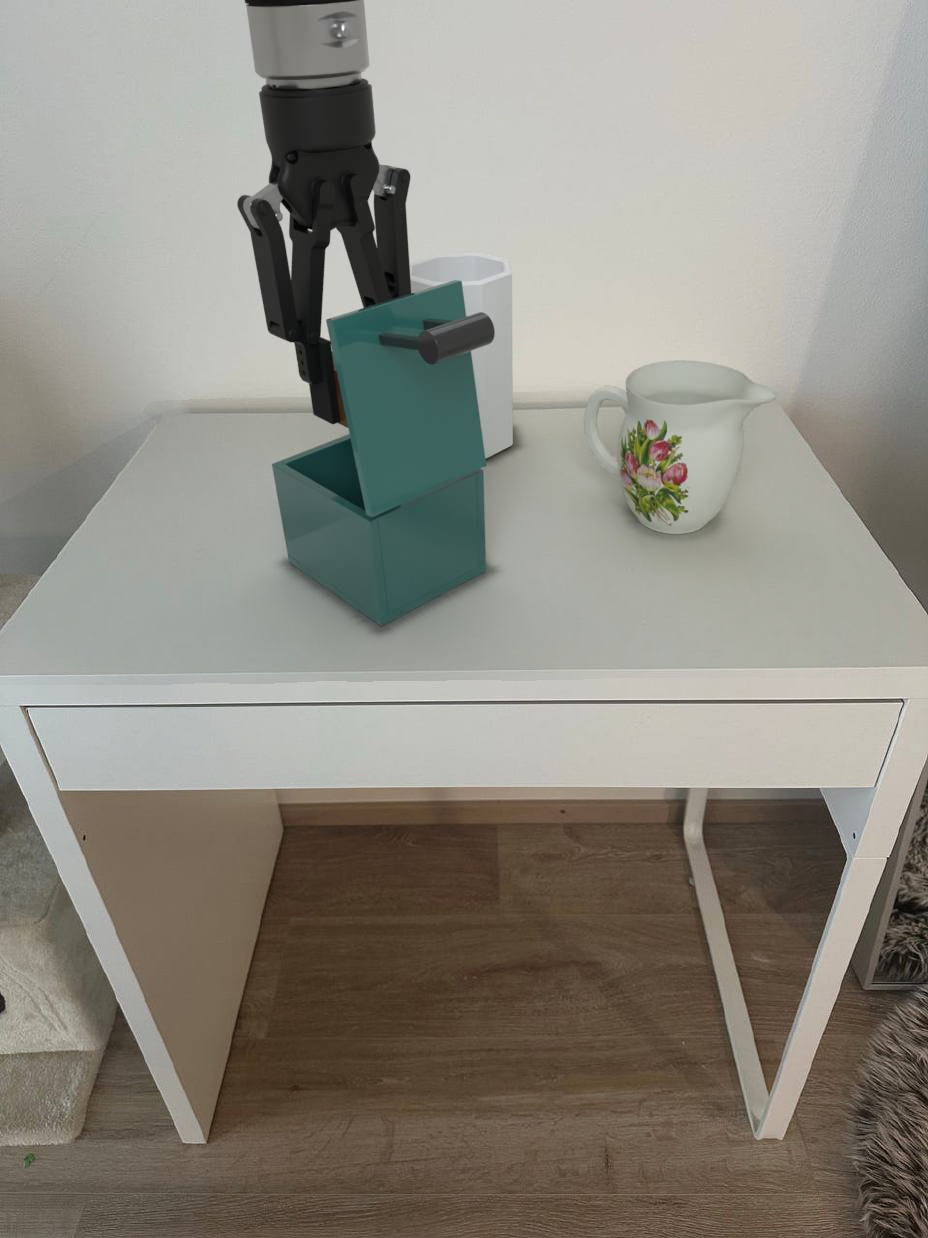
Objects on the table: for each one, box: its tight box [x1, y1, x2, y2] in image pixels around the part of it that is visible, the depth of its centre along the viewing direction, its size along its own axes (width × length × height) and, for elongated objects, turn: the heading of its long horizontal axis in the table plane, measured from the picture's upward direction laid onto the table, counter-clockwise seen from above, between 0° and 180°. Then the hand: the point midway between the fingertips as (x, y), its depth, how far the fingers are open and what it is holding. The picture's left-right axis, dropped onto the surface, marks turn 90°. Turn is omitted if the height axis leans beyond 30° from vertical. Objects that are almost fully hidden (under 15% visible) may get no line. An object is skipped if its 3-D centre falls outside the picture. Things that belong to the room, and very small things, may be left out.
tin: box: [271, 433, 487, 627], centre depth 80 cm, size 14×12×10 cm
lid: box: [325, 280, 495, 517], centre depth 67 cm, size 14×12×8 cm
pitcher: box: [583, 359, 779, 535], centre depth 84 cm, size 11×18×14 cm, turn 51°
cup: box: [409, 251, 514, 460], centre depth 97 cm, size 11×11×18 cm
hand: (353, 407), depth 76 cm, fingers closed on block, 4 cm apart
